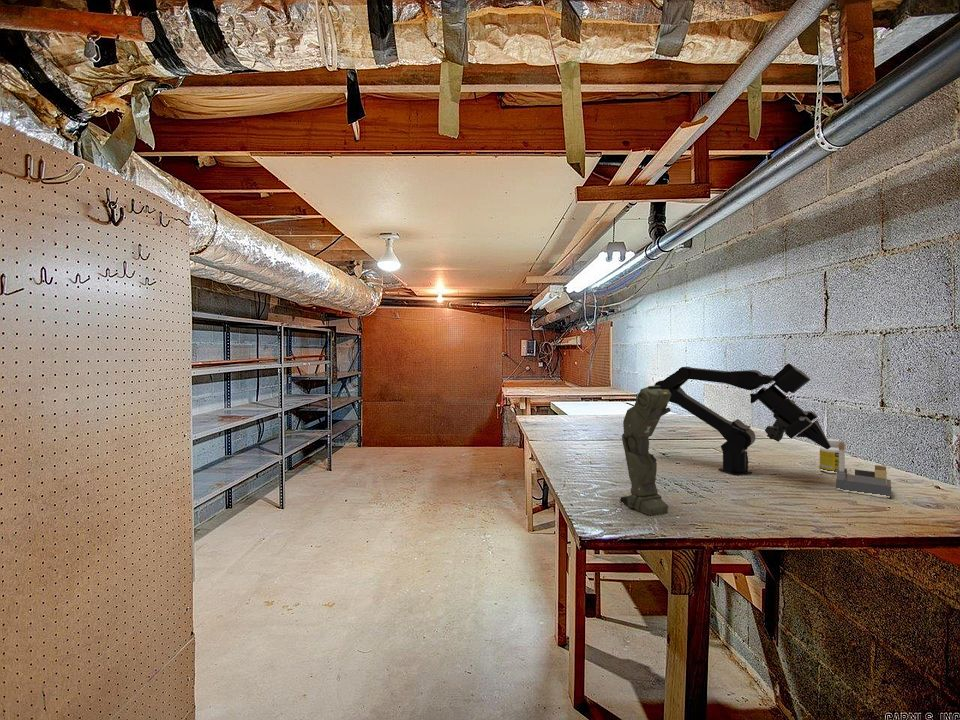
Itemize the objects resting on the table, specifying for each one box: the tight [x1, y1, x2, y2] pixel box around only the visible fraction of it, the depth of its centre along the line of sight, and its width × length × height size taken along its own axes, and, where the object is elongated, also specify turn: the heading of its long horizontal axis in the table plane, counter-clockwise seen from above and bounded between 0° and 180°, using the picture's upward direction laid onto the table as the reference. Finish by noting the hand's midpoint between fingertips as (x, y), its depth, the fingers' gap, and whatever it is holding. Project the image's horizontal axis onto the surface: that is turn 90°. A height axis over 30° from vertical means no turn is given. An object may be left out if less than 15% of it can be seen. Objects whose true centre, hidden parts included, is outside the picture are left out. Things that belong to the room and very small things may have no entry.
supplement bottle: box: [819, 438, 841, 472], centre depth 132 cm, size 5×5×10 cm
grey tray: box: [835, 464, 892, 497], centre depth 114 cm, size 10×8×6 cm
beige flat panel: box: [839, 441, 846, 473], centre depth 117 cm, size 1×5×9 cm, turn 138°
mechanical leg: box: [619, 385, 672, 517], centre depth 103 cm, size 14×7×30 cm, turn 21°
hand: (829, 448), depth 118 cm, fingers closed
